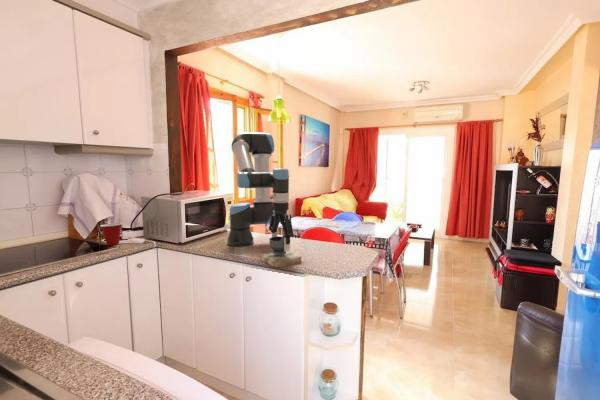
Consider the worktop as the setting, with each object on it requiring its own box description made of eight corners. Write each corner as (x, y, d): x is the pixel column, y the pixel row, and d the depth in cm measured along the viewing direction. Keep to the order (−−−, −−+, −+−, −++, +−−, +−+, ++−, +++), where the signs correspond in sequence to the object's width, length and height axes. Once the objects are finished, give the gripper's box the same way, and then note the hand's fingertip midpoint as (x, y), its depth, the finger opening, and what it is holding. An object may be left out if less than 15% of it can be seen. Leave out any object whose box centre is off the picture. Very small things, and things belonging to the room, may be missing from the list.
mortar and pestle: (273, 257, 133) (273, 231, 131) (266, 251, 141) (266, 227, 140) (295, 254, 138) (295, 229, 136) (287, 249, 146) (287, 225, 145)
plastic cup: (117, 241, 174) (115, 221, 173) (127, 243, 169) (126, 222, 168) (97, 245, 165) (95, 224, 163) (108, 247, 160) (106, 226, 158)
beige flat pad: (260, 259, 141) (260, 254, 141) (284, 254, 150) (284, 249, 149) (276, 267, 130) (276, 261, 130) (301, 261, 139) (301, 256, 138)
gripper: (261, 199, 143) (261, 244, 146) (287, 205, 126) (287, 255, 128) (274, 199, 148) (274, 242, 150) (301, 203, 130) (301, 252, 133)
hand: (280, 248), depth 139 cm, fingers closed on mortar and pestle, 10 cm apart
